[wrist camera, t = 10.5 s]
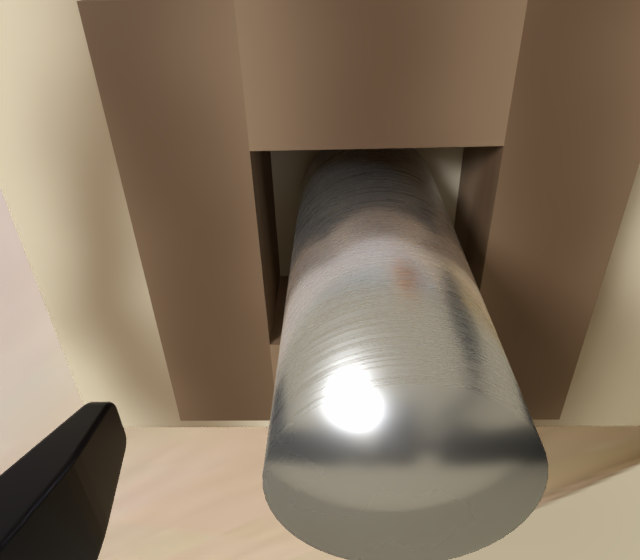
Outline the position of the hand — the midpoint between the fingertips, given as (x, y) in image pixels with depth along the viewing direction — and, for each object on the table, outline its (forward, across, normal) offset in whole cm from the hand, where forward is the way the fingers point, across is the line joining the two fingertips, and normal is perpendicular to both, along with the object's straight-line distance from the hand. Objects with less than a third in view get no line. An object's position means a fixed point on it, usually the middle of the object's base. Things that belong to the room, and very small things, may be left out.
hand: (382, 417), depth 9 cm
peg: (+9, 0, 0) cm, 9 cm away
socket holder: (+10, 0, 0) cm, 10 cm away
